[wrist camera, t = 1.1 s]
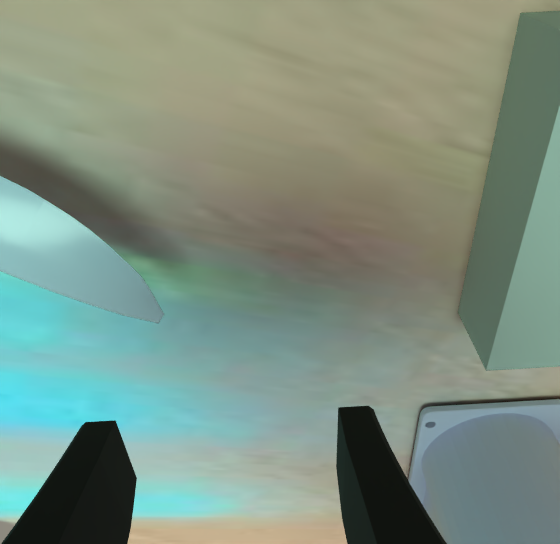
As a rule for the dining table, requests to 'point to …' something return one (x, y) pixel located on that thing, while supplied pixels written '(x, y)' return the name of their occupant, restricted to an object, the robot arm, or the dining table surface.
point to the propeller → (67, 256)
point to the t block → (520, 213)
